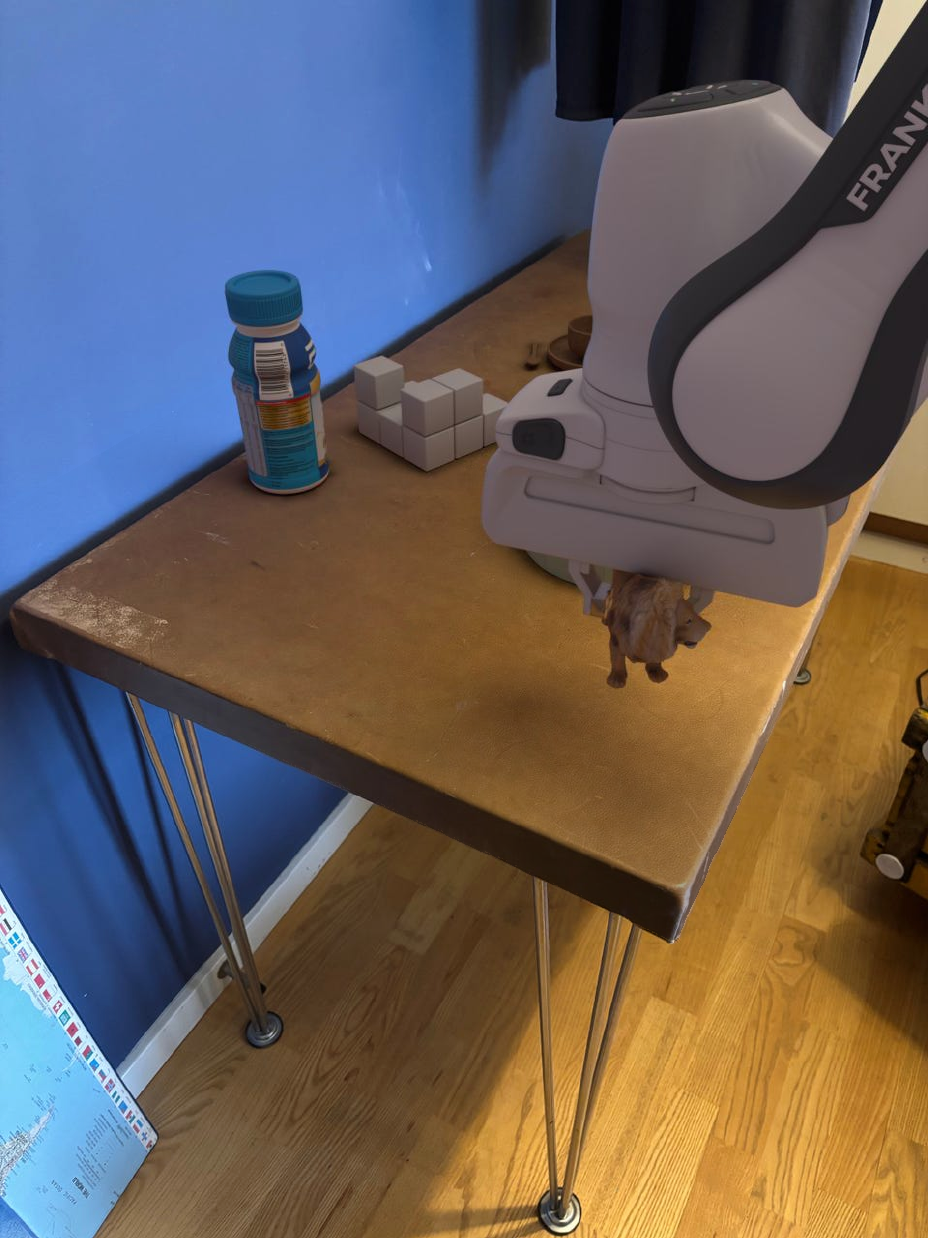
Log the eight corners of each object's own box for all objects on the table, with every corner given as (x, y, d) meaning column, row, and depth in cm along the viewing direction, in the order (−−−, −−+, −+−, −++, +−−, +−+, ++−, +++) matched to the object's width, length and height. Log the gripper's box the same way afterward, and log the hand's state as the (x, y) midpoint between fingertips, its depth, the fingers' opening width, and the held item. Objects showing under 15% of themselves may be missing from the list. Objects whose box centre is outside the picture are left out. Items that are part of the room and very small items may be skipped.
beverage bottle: (231, 483, 93) (193, 287, 81) (284, 449, 99) (256, 260, 86) (296, 505, 90) (267, 303, 77) (347, 468, 95) (328, 274, 83)
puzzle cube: (510, 436, 101) (512, 367, 96) (426, 472, 95) (424, 401, 90) (440, 400, 108) (439, 335, 103) (358, 432, 102) (352, 364, 97)
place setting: (661, 345, 120) (667, 300, 117) (673, 413, 105) (680, 364, 101) (528, 341, 122) (530, 297, 118) (520, 407, 106) (522, 359, 102)
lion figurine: (703, 723, 54) (722, 604, 49) (614, 729, 54) (622, 610, 49) (653, 578, 66) (664, 468, 60) (579, 583, 66) (583, 474, 60)
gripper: (866, 428, 49) (811, 629, 57) (508, 374, 55) (507, 562, 64) (856, 483, 44) (798, 693, 53) (468, 418, 51) (473, 613, 59)
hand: (636, 620), depth 58 cm, fingers closed on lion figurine, 4 cm apart
